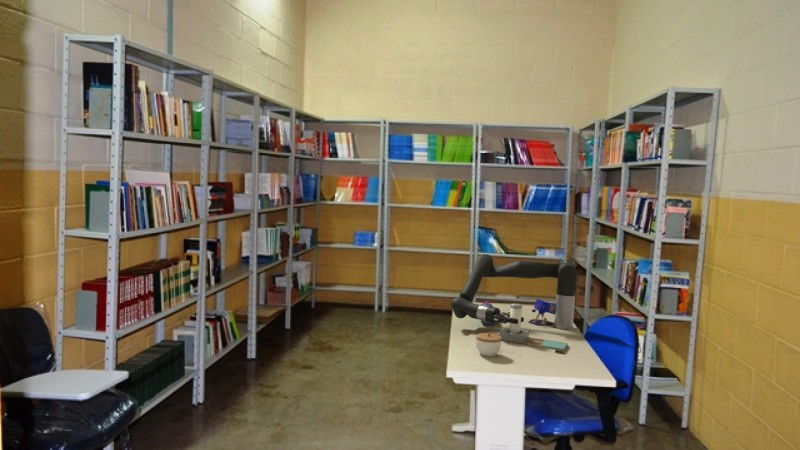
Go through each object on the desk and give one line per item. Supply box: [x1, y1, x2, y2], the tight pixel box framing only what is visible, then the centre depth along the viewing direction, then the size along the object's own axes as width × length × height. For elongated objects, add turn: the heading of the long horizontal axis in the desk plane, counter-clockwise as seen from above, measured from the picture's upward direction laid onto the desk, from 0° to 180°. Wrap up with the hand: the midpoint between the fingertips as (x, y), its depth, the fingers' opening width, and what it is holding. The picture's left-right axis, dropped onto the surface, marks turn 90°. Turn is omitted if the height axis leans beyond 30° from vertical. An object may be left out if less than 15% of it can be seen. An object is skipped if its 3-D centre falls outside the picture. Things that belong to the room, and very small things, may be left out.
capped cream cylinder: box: [508, 303, 523, 334], centre depth 262 cm, size 5×5×16 cm
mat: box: [541, 339, 567, 350], centre depth 255 cm, size 10×10×1 cm
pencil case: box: [480, 300, 496, 327], centre depth 295 cm, size 21×9×10 cm, turn 177°
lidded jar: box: [475, 332, 502, 357], centre depth 241 cm, size 11×11×9 cm
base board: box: [501, 336, 569, 354], centre depth 260 cm, size 14×30×1 cm, turn 65°
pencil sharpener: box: [527, 298, 556, 328], centre depth 300 cm, size 14×18×13 cm
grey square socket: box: [499, 326, 530, 345], centre depth 263 cm, size 11×11×4 cm
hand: (520, 320), depth 261 cm, fingers closed on capped cream cylinder, 5 cm apart
